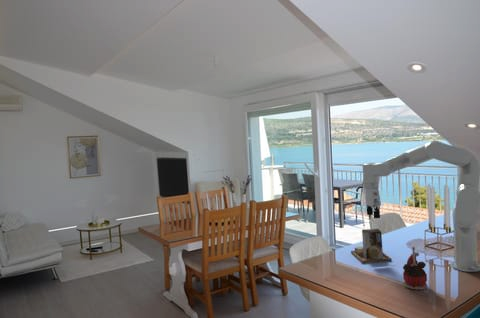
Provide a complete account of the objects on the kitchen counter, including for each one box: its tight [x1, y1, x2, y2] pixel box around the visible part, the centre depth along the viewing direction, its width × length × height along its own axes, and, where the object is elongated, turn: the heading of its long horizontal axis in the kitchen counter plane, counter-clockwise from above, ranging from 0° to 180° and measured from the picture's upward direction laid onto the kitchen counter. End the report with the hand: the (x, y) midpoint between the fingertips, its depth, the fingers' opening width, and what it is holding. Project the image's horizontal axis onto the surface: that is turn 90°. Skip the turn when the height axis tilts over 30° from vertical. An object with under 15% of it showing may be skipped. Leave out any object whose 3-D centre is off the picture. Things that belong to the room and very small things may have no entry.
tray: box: [350, 250, 393, 264], centre depth 204 cm, size 18×16×2 cm
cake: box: [402, 246, 428, 291], centre depth 164 cm, size 11×9×18 cm
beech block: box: [354, 245, 364, 256], centre depth 210 cm, size 4×4×4 cm
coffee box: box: [361, 228, 384, 260], centre depth 201 cm, size 9×6×16 cm
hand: (373, 216), depth 200 cm, fingers open, 9 cm apart
